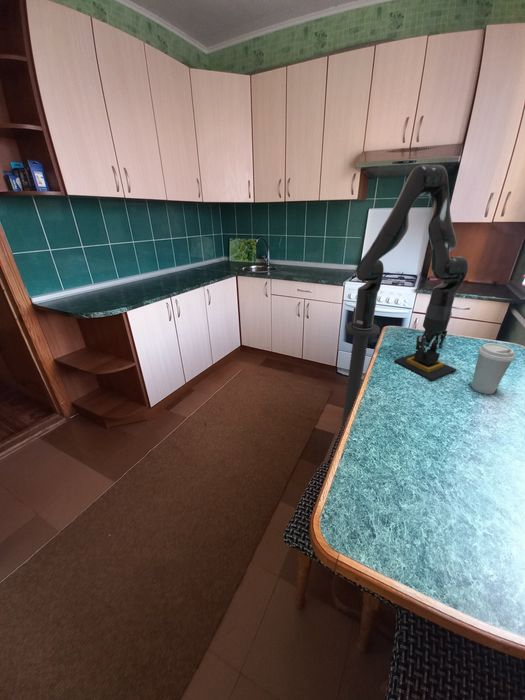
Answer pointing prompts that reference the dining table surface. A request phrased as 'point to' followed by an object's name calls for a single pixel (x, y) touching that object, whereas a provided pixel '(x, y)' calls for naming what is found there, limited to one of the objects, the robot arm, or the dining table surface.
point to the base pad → (425, 367)
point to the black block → (428, 356)
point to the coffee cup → (491, 367)
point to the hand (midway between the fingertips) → (426, 358)
